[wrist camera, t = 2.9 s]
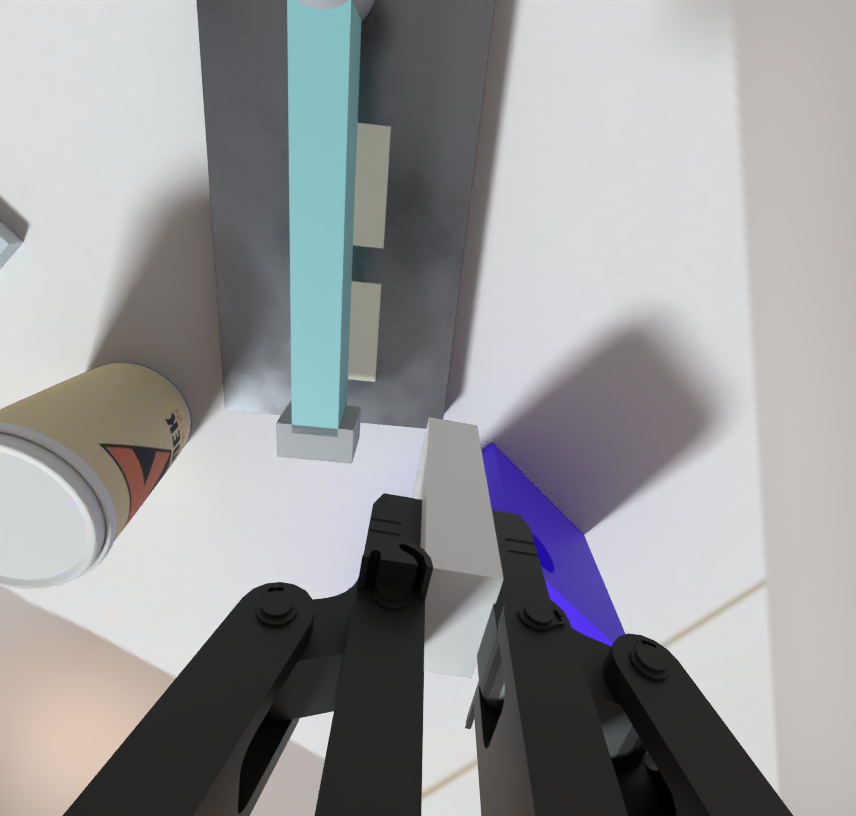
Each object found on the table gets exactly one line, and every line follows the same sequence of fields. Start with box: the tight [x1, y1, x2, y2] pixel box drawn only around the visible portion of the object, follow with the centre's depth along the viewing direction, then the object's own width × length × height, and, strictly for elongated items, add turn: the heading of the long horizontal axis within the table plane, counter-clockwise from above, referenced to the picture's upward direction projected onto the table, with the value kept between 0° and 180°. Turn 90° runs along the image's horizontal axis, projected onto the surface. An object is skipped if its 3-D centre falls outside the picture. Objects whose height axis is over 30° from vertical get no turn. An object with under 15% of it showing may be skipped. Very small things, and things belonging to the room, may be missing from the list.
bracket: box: [482, 442, 625, 646], centre depth 35 cm, size 18×11×12 cm, turn 133°
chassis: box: [197, 0, 495, 429], centre depth 28 cm, size 24×14×4 cm, turn 174°
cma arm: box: [276, 0, 374, 463], centre depth 24 cm, size 23×4×3 cm, turn 174°
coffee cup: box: [0, 362, 191, 590], centre depth 30 cm, size 9×9×12 cm
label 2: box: [348, 281, 381, 382], centre depth 31 cm, size 6×5×1 cm
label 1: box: [353, 123, 391, 248], centre depth 27 cm, size 6×5×1 cm
